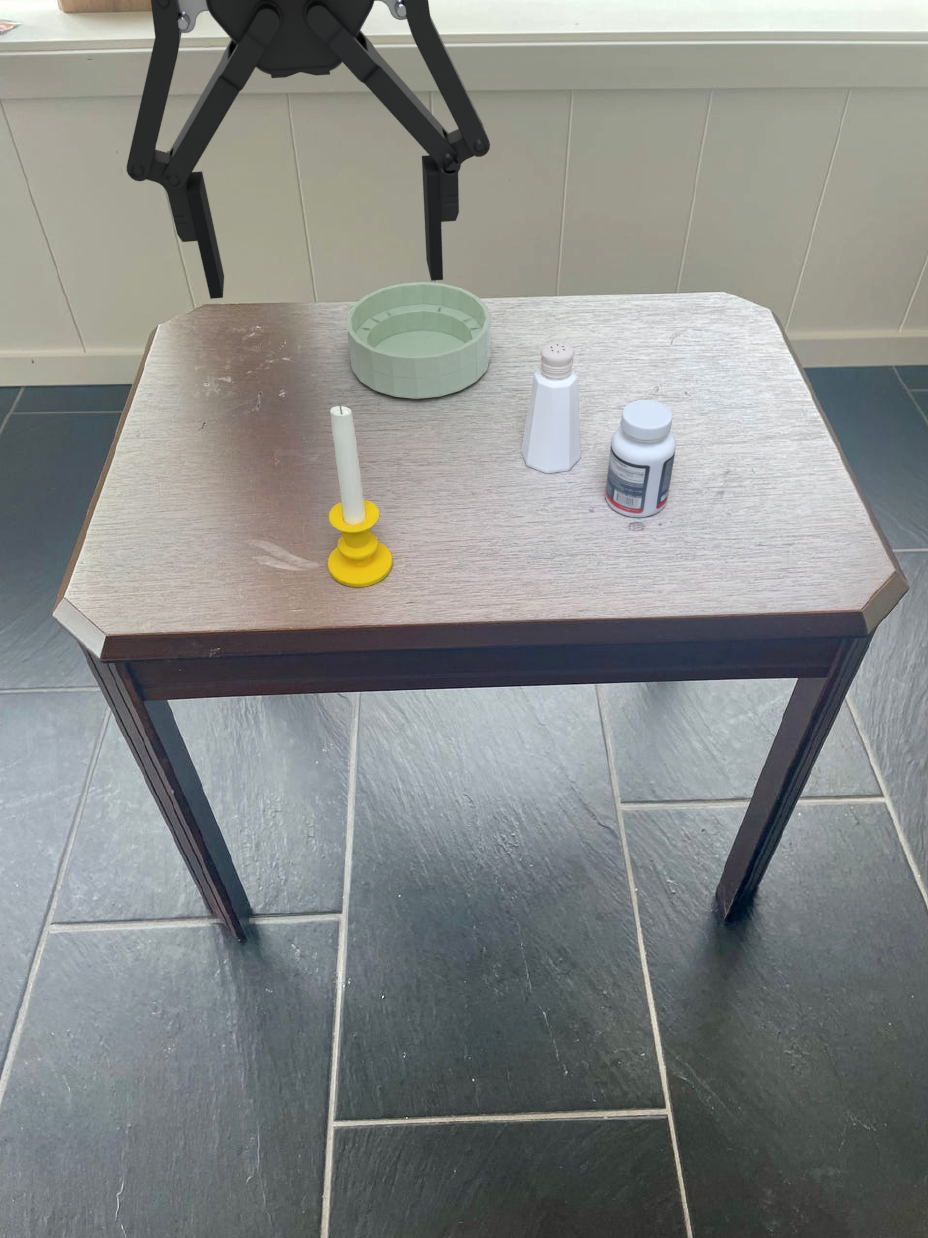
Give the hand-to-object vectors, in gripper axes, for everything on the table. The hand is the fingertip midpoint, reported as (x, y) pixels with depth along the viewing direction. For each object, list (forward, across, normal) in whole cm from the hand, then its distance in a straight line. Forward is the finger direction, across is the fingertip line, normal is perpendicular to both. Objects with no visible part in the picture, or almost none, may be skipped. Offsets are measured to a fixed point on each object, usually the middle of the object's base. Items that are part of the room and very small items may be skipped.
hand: (327, 279), depth 60 cm
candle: (+25, 0, +1) cm, 25 cm away
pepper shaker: (+24, -18, -11) cm, 32 cm away
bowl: (+24, -8, -28) cm, 38 cm away
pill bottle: (+24, -24, -4) cm, 34 cm away
